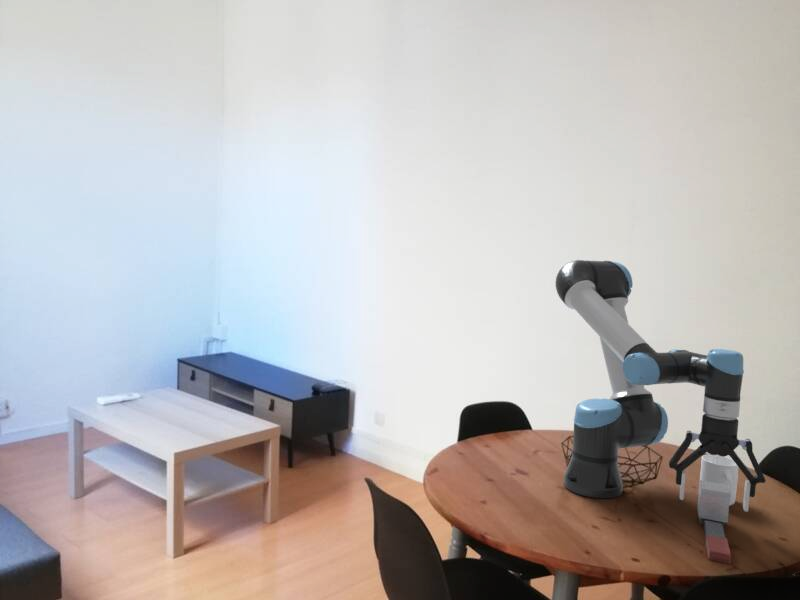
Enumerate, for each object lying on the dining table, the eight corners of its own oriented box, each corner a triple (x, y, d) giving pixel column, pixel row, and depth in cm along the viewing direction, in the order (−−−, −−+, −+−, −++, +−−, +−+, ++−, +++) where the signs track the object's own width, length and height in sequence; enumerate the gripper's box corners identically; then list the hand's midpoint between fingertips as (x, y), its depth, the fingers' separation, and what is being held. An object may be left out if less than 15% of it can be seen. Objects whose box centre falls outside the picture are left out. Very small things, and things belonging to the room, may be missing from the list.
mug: (711, 510, 153) (714, 469, 152) (693, 492, 165) (696, 453, 164) (747, 513, 152) (751, 471, 151) (726, 494, 164) (730, 455, 163)
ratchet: (732, 564, 126) (735, 536, 126) (705, 558, 128) (708, 531, 128) (721, 520, 147) (724, 496, 147) (698, 516, 149) (700, 492, 149)
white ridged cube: (698, 517, 144) (701, 488, 143) (697, 508, 149) (699, 480, 149) (727, 522, 142) (730, 493, 141) (724, 513, 147) (727, 484, 146)
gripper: (663, 412, 145) (656, 498, 147) (785, 427, 136) (776, 520, 137) (662, 405, 152) (656, 488, 154) (779, 419, 143) (770, 508, 144)
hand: (712, 503), depth 146 cm, fingers open, 13 cm apart
